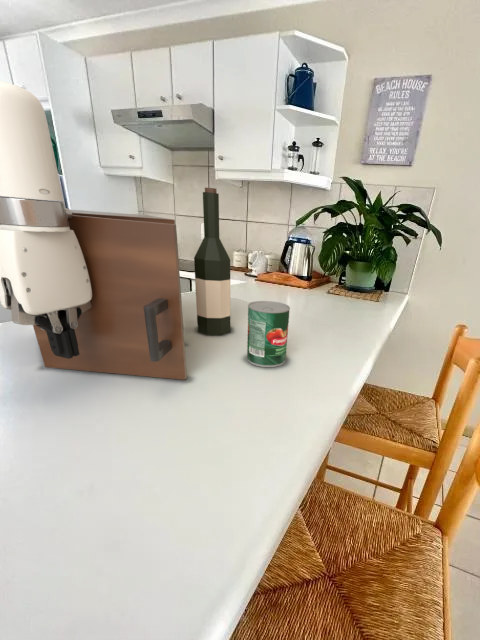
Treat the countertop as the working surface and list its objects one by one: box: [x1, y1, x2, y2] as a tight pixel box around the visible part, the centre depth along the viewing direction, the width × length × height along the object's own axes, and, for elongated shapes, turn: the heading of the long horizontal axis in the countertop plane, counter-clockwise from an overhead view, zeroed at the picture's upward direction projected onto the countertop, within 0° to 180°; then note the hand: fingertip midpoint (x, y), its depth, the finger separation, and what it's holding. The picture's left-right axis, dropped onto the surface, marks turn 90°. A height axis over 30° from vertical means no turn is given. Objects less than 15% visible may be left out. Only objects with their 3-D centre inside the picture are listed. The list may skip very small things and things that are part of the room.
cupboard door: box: [32, 215, 188, 381], centre depth 47 cm, size 6×24×24 cm, turn 87°
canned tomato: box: [246, 300, 291, 368], centre depth 63 cm, size 8×8×11 cm
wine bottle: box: [193, 187, 231, 336], centre depth 72 cm, size 8×8×30 cm
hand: (66, 355), depth 48 cm, fingers closed
